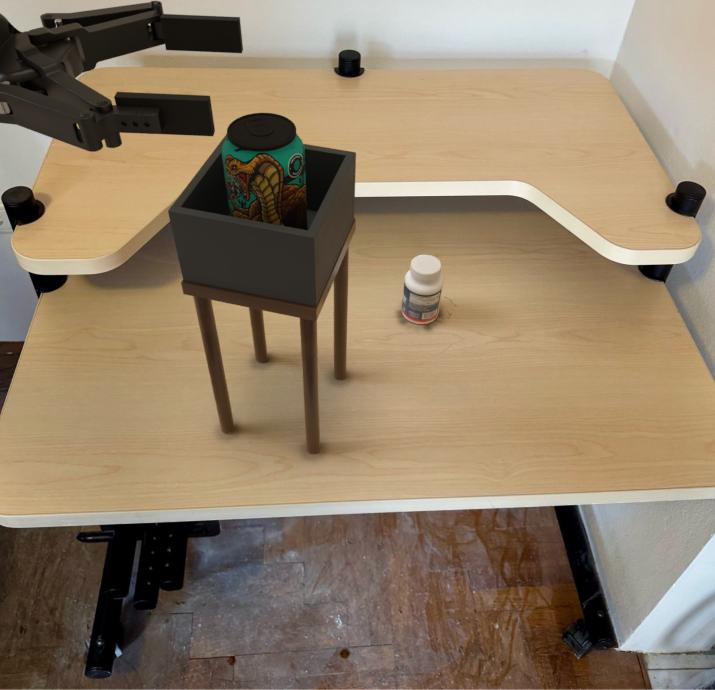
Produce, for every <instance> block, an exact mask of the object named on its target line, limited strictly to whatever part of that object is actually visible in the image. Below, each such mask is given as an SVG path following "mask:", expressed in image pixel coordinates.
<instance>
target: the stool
mask: <svg viewBox="0 0 715 690" xmlns="http://www.w3.org/2000/svg"><path fill="white" fill-rule="evenodd" d="M356 223H357V218H355V217H354V221H353V223H352V226H351V228H350V230H349V233H348V235H347V237H346V240H345V242H344V244H343V246H342V249H341V251H340V253H339V256H338V258H337V260H336V262H335V265H334V267H333V269H332V272H331V274H330V276H329V279H328V281H327V283H326V285H325V288H324V290H323V292H322V295H321V297H320V299H319V302H318V304H317V306H316V307H313V306H308V305H303V304H298V303H293V302H288V301H283V300H278V299H274V298H269V297H264V296H259V295H254V294H249V293H244V292H239V291H234V290H229V289H224V288H219V287H214V286H209V285H204V284H199V283H194V282H189V281H184V280H183V279H182V280H181V282H180V284H181V289H182V294H183V295H187V296H191V297H193V302H194V306H195V311H196V316H197V321H198V326H199V331H200V336H201V339H202V344H203V345H202V346H203V350H204V354H205V359H206V360H205V361H206V363H207V369H208V373H209V378H210V383H211V388H212V393H213V397H214V402H215V406H216V411H217V416H218V417H217V418H218V421H219V426H220V430H221V432H222V433H223V434H231V433H233V432H234V431H235V427H236V426H235V421H234V416H233V411H232V410H233V409H232V404H231V399H230V394H229V388H228V383H227V378H226V377H227V376H226V373H225V372H226V371H225V367H224V361H223V355H222V350H221V344H220V340H219V334H218V333H219V332H218V329H217V323H216V318H215V313H214V307H213V302H212V301H214V302H220V303H225V304H230V305H235V306H239V307H245V308H248V311H249V313H248V314H249V318H250V328H251V335H252V342H253V350H254V358H255V361H256V362H258V363H265V362H267V361H268V358H269V357H268V355H269V354H268V348H267V346H268V345H267V337H266V328H265V320H264V319H265V318H264V312H268V313H274V314H279V315H283V316H289V317H293V318H297V319H299V333H300V336H299V337H300V350H301V351H300V353H301V356H300V357H301V368H302V369H301V371H302V374H301V375H302V390H303V391H302V392H303V394H302V395H303V407H304V408H303V411H304V429H305V449H306V451H307V452H308V453H309V454H311V455H315V454H317V453H319V451H320V450H321V433H320V432H321V430H320V429H321V428H320V392H319V391H320V390H319V353H318V352H319V350H318V349H319V347H318V319H319V317H320V314H321V313H322V309H323V307H324V306H325V302H326V300H327V298H328V295H329V293H330V291H331V288H332V286H333V378H335V379H336V380H338V381H340V380H341V381H342V380H344V379H346V377H347V354H348V351H347V349H348V312H349V310H348V309H349V308H348V307H349V304H348V303H349V267H350V266H349V265H350V264H349V262H350V261H349V260H350V244H351V242H352V240H353V237H354V235H355V232H356V229H357V228H356Z"/></svg>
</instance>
